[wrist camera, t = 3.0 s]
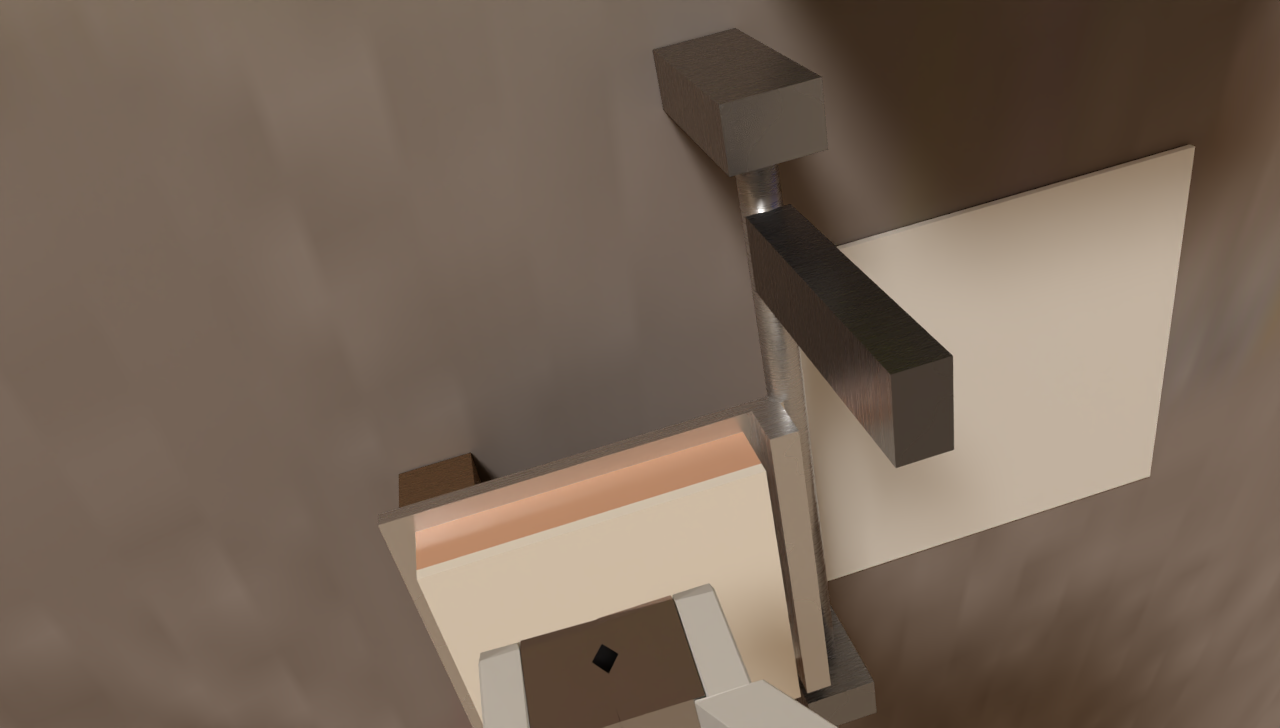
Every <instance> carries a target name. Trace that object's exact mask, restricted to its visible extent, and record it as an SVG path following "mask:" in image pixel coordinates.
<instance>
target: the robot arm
mask: <svg viewBox="0 0 1280 728" xmlns="http://www.w3.org/2000/svg"><path fill="white" fill-rule="evenodd" d="M478 667H479V680H480V693H481V707H482V720H483V728H838V727H836V726H835V725H833V724H832V723H830V722H829V721H827V720H826V719H824V718H822V717H821V716H819V715H818V714H816V713H815V712H813V711H812V710H810V709H809V708H807V707H805V706H804V705H802V704H801V703H799V702H798V701H796V700H795V699H793V698H792V697H790V696H788V695H787V694H785V693H784V692H782V691H781V690H779V689H778V688H776V687H774V686H773V685H771V684H770V683H768V682H767V681H765V680H764V679H763V680H759V681H756V682H751V679H750V677H749V674H748V672H747V669H746V667H745V664H744V662H743V659H742V657H741V654H740V652H739V649H738V647H737V644H736V642H735V639H734V637H733V634H732V632H731V629H730V627H729V624H728V622H727V619H726V617H725V614H724V612H723V609H722V607H721V604H720V602H719V599H718V597H717V594H716V592H715V589H714V588H713V587H712V586H711V585H710V584H709V583H708V584H705V585H702V586H698V587H695V588H692V589H689V590H686V591H683V592H679V593H676V594H673V595H672V597H671V595H669V596H666V597H663V598H660V599H657V600H654V601H651V602H647V603H644V604H641V605H638V606H635V607H632V608H629V609H625V610H622V611H619V612H616V613H613V614H610V615H607V616H603V617H600V618H597V620H593V621H590V622H586V623H582V624H579V625H575V626H572V627H568V628H565V629H561V630H557V631H554V632H550V633H547V634H543V635H540V636H536V637H532V638H529V639H525V640H522V641H520V642H517V643H514V644H510V645H507V646H503V647H499V648H496V649H492V650H489V651H485V652H482V653H480V658H479V664H478Z"/></svg>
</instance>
